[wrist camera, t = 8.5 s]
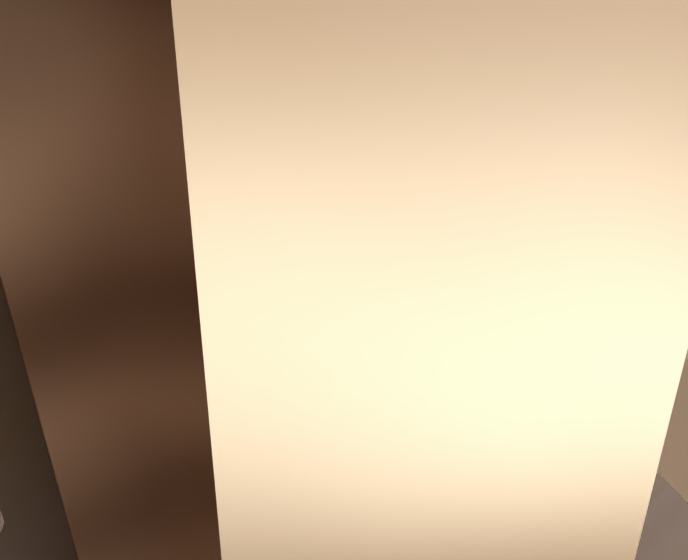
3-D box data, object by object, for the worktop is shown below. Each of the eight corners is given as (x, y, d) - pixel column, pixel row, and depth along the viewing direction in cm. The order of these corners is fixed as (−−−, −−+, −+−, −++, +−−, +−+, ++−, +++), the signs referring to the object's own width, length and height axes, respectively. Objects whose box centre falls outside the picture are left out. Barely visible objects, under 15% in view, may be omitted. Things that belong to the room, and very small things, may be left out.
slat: (362, 622, 22) (491, 1130, 12) (246, 642, 21) (280, 1201, 11) (386, -233, 12) (1071, -1186, 3) (179, -249, 12) (18, -1678, 2)
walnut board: (486, 661, 26) (501, 697, 25) (143, 738, 24) (139, 781, 23) (588, -598, 12) (636, -674, 11) (-230, -705, 10) (-300, -819, 8)
